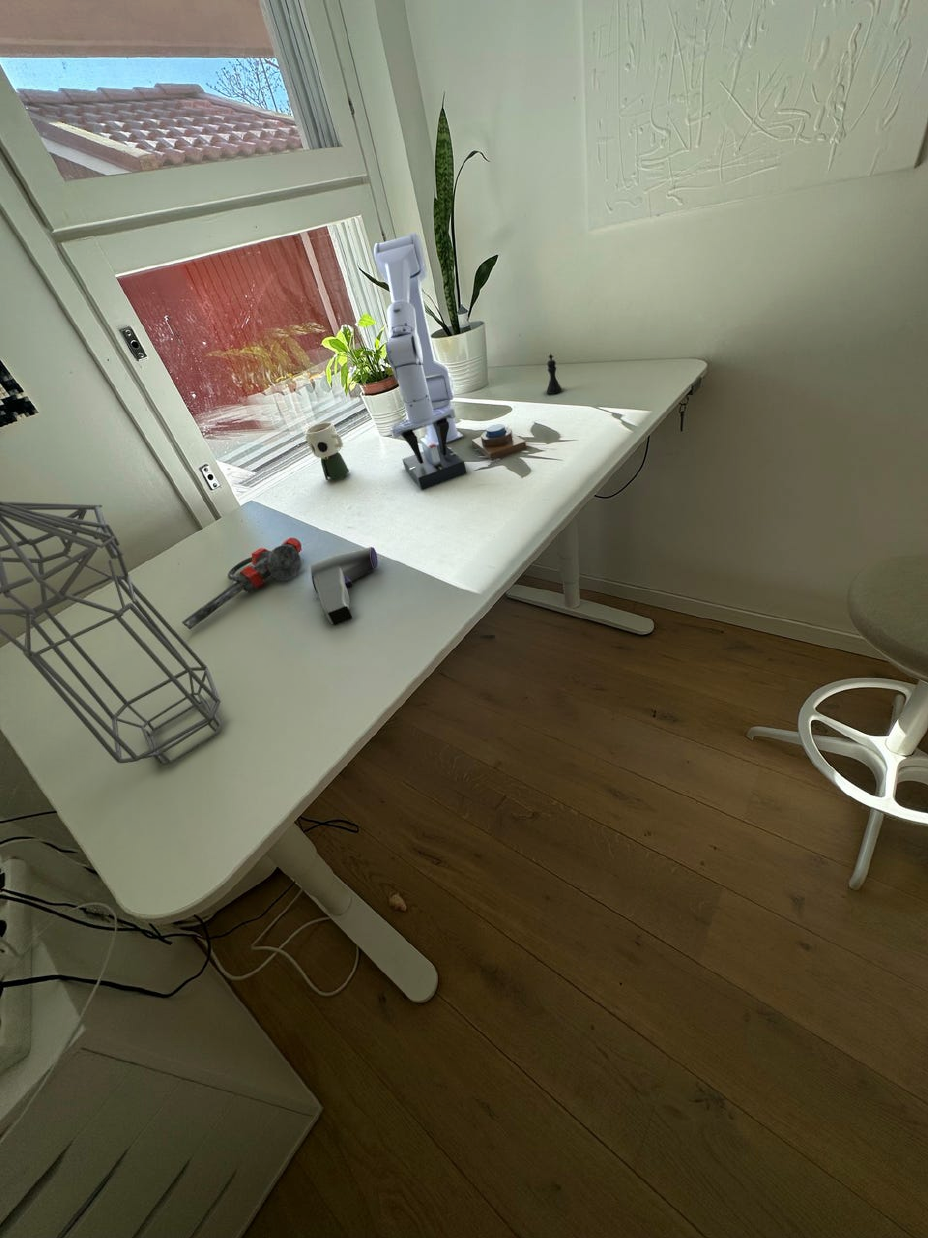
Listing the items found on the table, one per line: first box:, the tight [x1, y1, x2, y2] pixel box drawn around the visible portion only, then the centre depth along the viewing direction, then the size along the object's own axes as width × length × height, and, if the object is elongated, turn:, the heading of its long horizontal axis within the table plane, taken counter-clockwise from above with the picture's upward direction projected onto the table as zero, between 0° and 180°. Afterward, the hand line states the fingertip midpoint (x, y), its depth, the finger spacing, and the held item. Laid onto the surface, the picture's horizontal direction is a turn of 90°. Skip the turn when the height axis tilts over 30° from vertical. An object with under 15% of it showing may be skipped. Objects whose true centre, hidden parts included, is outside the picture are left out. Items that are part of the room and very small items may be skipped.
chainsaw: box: [181, 537, 303, 630], centre depth 98 cm, size 6×26×15 cm
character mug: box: [304, 421, 350, 482], centre depth 129 cm, size 11×7×13 cm, turn 64°
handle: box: [419, 436, 441, 467], centre depth 118 cm, size 8×2×5 cm, turn 21°
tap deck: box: [402, 445, 468, 491], centre depth 121 cm, size 14×12×3 cm
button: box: [485, 423, 506, 438], centre depth 123 cm, size 4×4×2 cm
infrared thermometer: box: [310, 546, 379, 626], centre depth 88 cm, size 5×12×15 cm
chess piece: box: [546, 354, 563, 395], centre depth 145 cm, size 4×4×10 cm
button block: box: [471, 426, 527, 462], centre depth 124 cm, size 12×9×4 cm
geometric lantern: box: [0, 501, 223, 767], centre depth 61 cm, size 16×16×35 cm
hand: (432, 458), depth 119 cm, fingers open, 5 cm apart
